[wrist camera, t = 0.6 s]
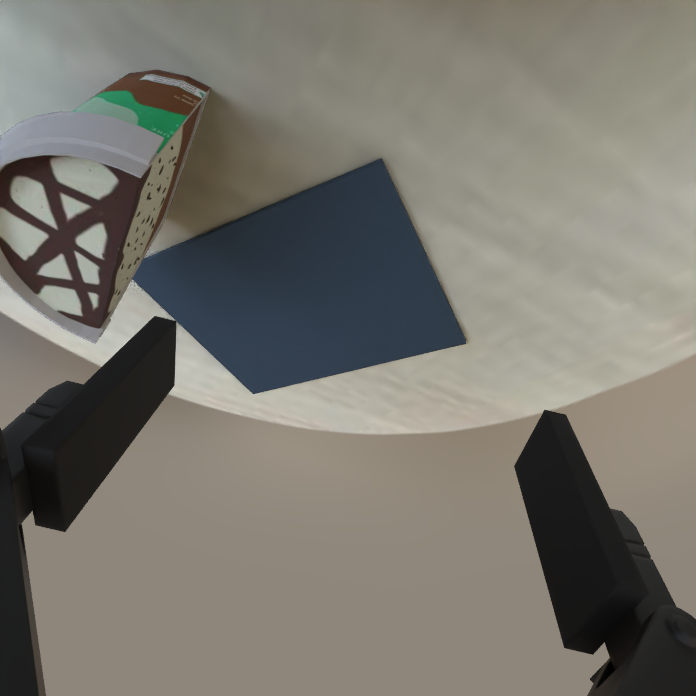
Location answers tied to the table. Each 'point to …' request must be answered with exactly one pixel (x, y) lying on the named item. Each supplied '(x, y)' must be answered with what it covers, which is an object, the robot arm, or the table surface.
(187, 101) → the food container
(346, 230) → the mat
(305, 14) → the table surface
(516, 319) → the table surface
